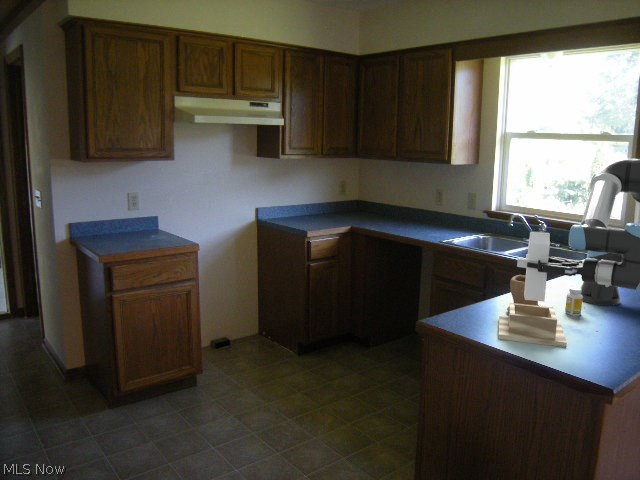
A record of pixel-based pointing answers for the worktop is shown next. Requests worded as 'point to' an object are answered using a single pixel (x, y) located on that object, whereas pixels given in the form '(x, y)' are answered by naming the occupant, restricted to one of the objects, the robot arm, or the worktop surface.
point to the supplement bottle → (574, 301)
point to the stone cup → (519, 291)
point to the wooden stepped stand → (532, 325)
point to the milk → (534, 279)
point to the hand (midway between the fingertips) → (522, 260)
